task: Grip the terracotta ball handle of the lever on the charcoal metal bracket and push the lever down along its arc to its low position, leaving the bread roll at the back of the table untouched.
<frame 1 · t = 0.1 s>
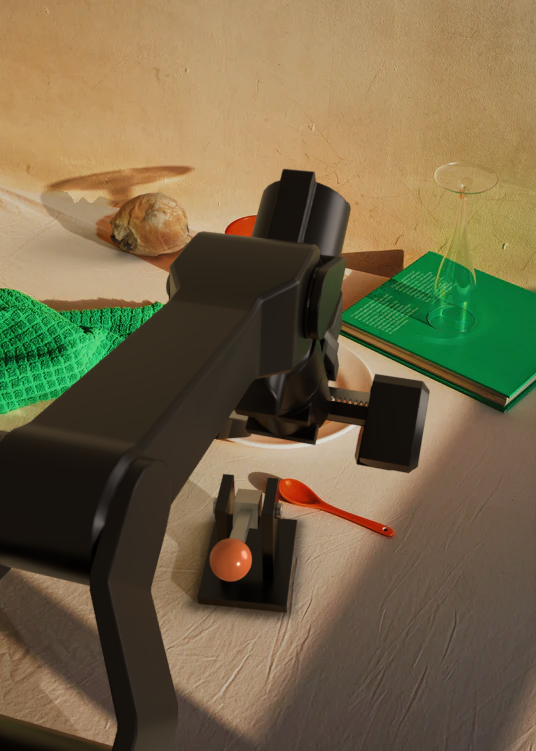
hand: (304, 439, 60), 15 cm above the table, tool tilted 30°, fingers open, 9 cm apart
bread roll: (140, 252, 121), on the table
lever: (239, 532, 60), point 9 cm above the table, hinge at 22.0°
supplement bottle: (148, 469, 79), on the table
bracket: (249, 563, 69), on the table
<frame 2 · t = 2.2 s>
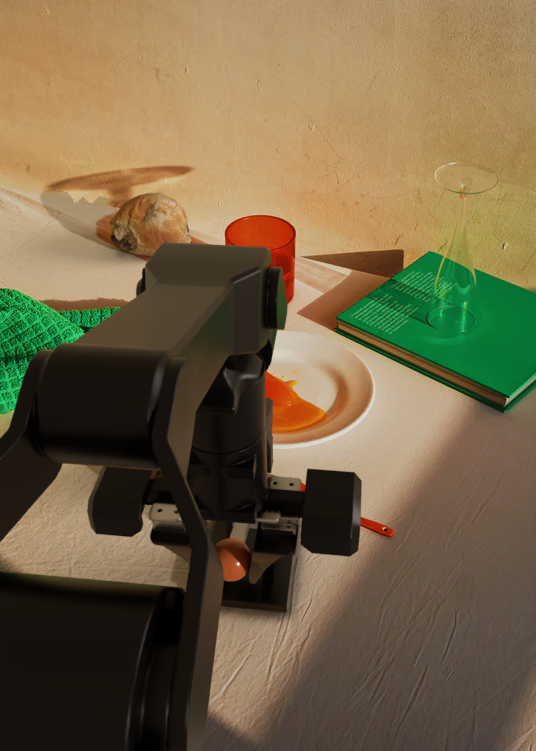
hand: (232, 576, 57), 9 cm above the table, tool pointing down, fingers closed on lever, 3 cm apart
lever: (239, 532, 60), point 9 cm above the table, hinge at 22.0°, touching gripper
everything else where it was.
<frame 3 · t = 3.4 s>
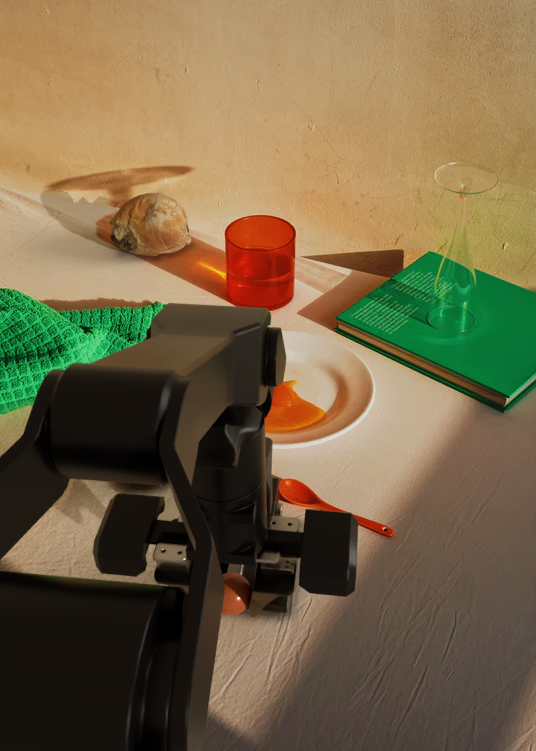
hand: (232, 610, 59), 5 cm above the table, tool pointing down, fingers closed on lever, 3 cm apart
lever: (239, 549, 61), point 8 cm above the table, hinge at 0.4°, touching gripper
everything else where it was.
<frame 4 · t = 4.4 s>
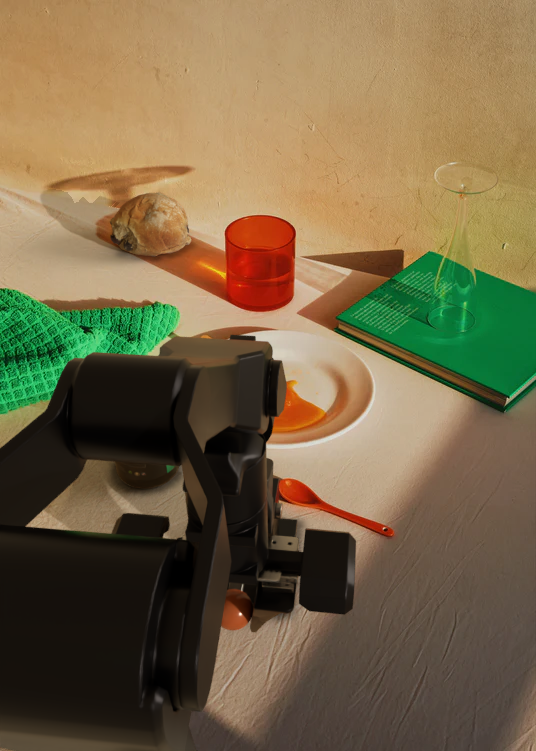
hand: (235, 625, 61), 3 cm above the table, tool pointing down, fingers closed on lever, 3 cm apart
lever: (240, 557, 62), point 6 cm above the table, hinge at -15.8°, touching gripper
everything else where it was.
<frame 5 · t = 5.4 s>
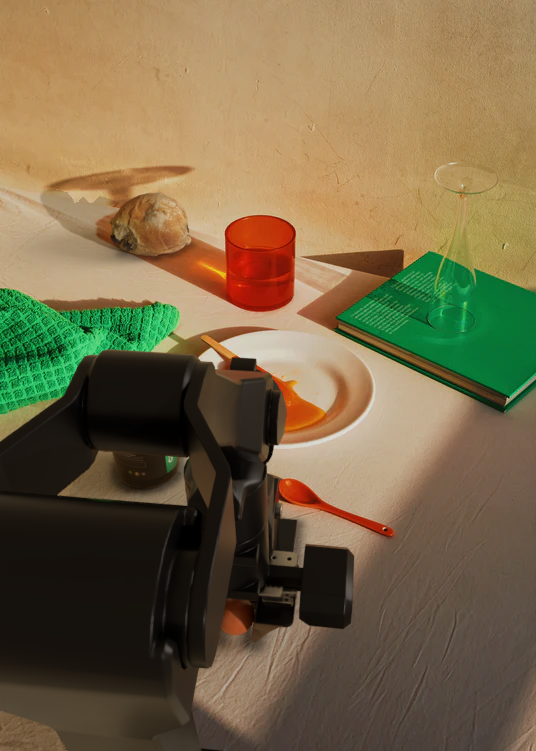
hand: (237, 635, 63), 0 cm above the table, tool pointing down, fingers closed on lever, 3 cm apart
lever: (241, 561, 63), point 5 cm above the table, hinge at -27.3°, touching gripper
everything else where it was.
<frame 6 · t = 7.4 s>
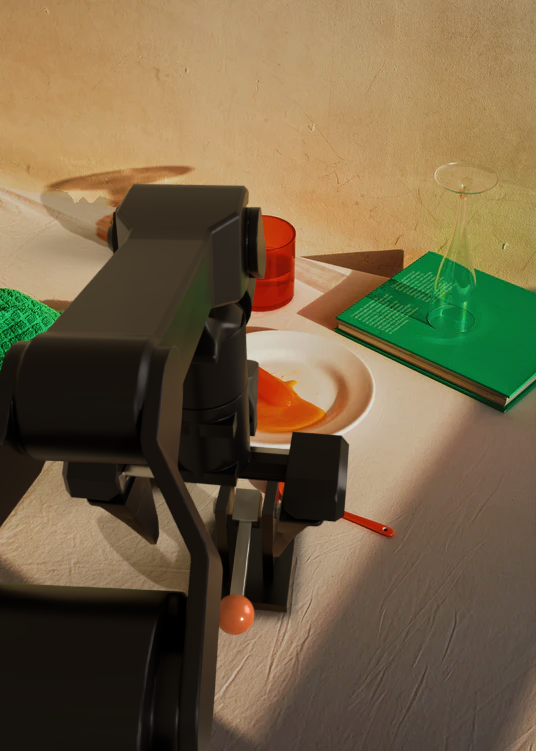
hand: (215, 545, 55), 12 cm above the table, tool pointing down, fingers open, 9 cm apart
lever: (241, 560, 62), point 6 cm above the table, hinge at -25.6°
everything else where it was.
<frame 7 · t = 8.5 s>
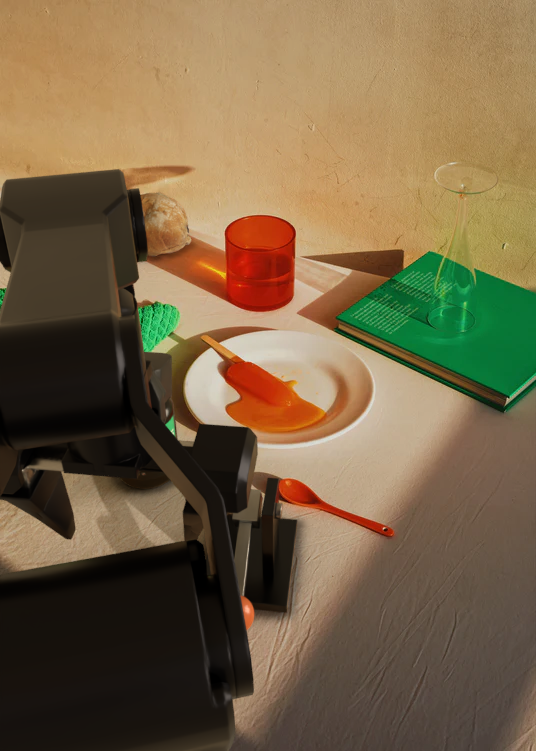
hand: (130, 540, 55), 13 cm above the table, tool pointing down, fingers open, 9 cm apart
nothing on the table moved.
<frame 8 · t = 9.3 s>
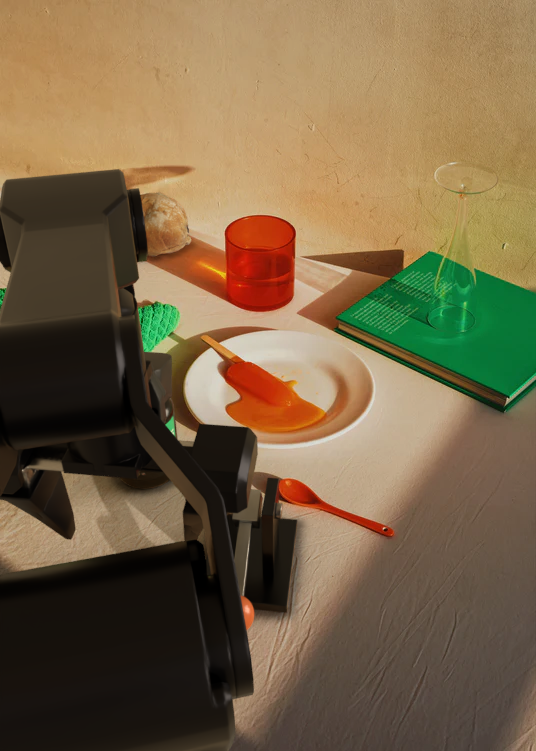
hand: (130, 540, 55), 13 cm above the table, tool pointing down, fingers open, 9 cm apart
nothing on the table moved.
at the end: lever at -26° (first picture: +22°); bread roll moved 0.0 cm from its start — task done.
